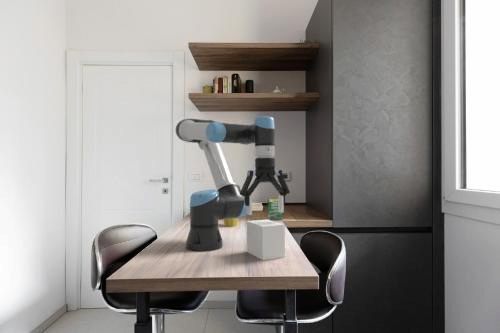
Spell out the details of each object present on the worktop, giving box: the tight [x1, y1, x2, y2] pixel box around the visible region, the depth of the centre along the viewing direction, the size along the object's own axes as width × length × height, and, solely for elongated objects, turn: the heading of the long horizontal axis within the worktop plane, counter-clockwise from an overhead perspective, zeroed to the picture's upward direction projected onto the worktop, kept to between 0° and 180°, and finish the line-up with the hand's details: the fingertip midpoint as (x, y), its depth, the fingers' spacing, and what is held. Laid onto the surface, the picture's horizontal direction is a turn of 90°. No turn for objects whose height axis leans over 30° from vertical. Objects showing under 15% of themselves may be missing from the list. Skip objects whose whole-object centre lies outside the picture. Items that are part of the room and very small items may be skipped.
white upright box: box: [246, 218, 286, 261], centre depth 124 cm, size 9×13×12 cm
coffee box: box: [267, 198, 282, 221], centre depth 203 cm, size 8×3×13 cm, turn 101°
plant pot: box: [223, 218, 239, 228], centre depth 184 cm, size 10×10×10 cm
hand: (265, 213), depth 124 cm, fingers open, 13 cm apart
